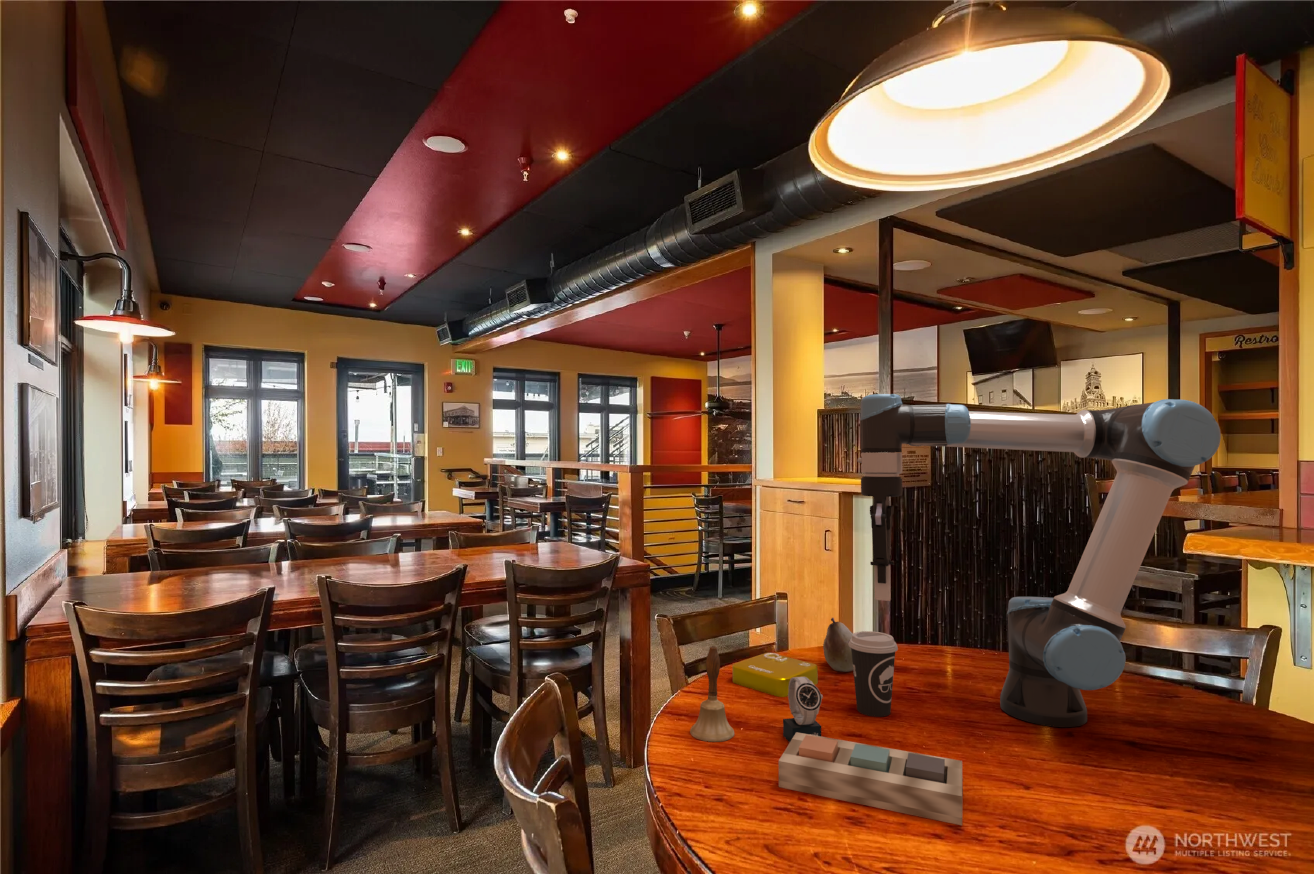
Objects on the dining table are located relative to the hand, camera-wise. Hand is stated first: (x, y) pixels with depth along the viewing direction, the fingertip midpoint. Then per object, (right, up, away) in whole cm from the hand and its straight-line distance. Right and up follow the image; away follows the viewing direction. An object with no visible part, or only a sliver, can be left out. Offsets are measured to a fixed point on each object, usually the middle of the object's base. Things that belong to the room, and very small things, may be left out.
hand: (882, 599), depth 126 cm
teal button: (-10, -22, -23) cm, 33 cm away
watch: (-16, -25, -5) cm, 30 cm away
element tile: (-16, -26, +26) cm, 40 cm away
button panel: (-10, -24, -23) cm, 34 cm away
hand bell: (-33, -25, -2) cm, 41 cm away
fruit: (+2, -26, +35) cm, 44 cm away
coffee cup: (+1, -25, +9) cm, 26 cm away
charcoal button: (-2, -22, -26) cm, 34 cm away
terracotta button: (-17, -23, -19) cm, 34 cm away
